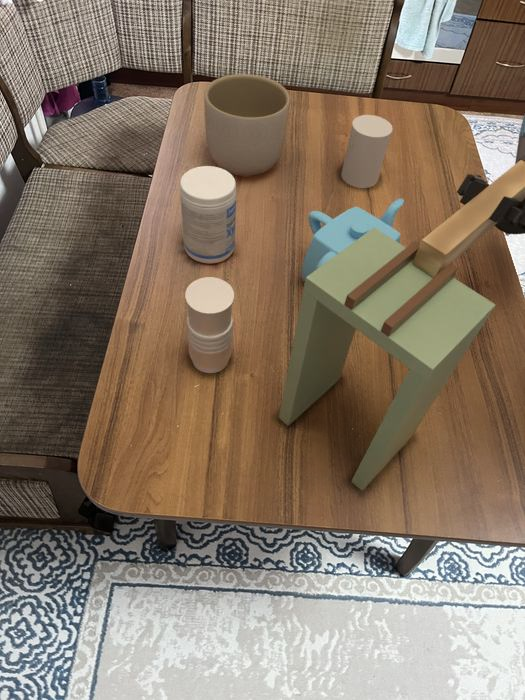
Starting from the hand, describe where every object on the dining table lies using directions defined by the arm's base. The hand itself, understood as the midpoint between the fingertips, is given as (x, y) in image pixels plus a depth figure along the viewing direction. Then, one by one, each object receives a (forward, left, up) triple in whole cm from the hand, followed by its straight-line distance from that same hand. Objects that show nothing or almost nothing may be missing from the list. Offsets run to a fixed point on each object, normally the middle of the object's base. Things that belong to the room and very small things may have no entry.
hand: (484, 200), depth 58 cm
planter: (+57, -21, -35) cm, 70 cm away
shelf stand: (0, +14, -35) cm, 37 cm away
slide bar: (0, -2, -5) cm, 5 cm away
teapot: (+19, -11, -35) cm, 41 cm away
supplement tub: (+42, +3, -35) cm, 55 cm away
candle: (+23, +20, -35) cm, 46 cm away
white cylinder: (+37, -37, -35) cm, 63 cm away
